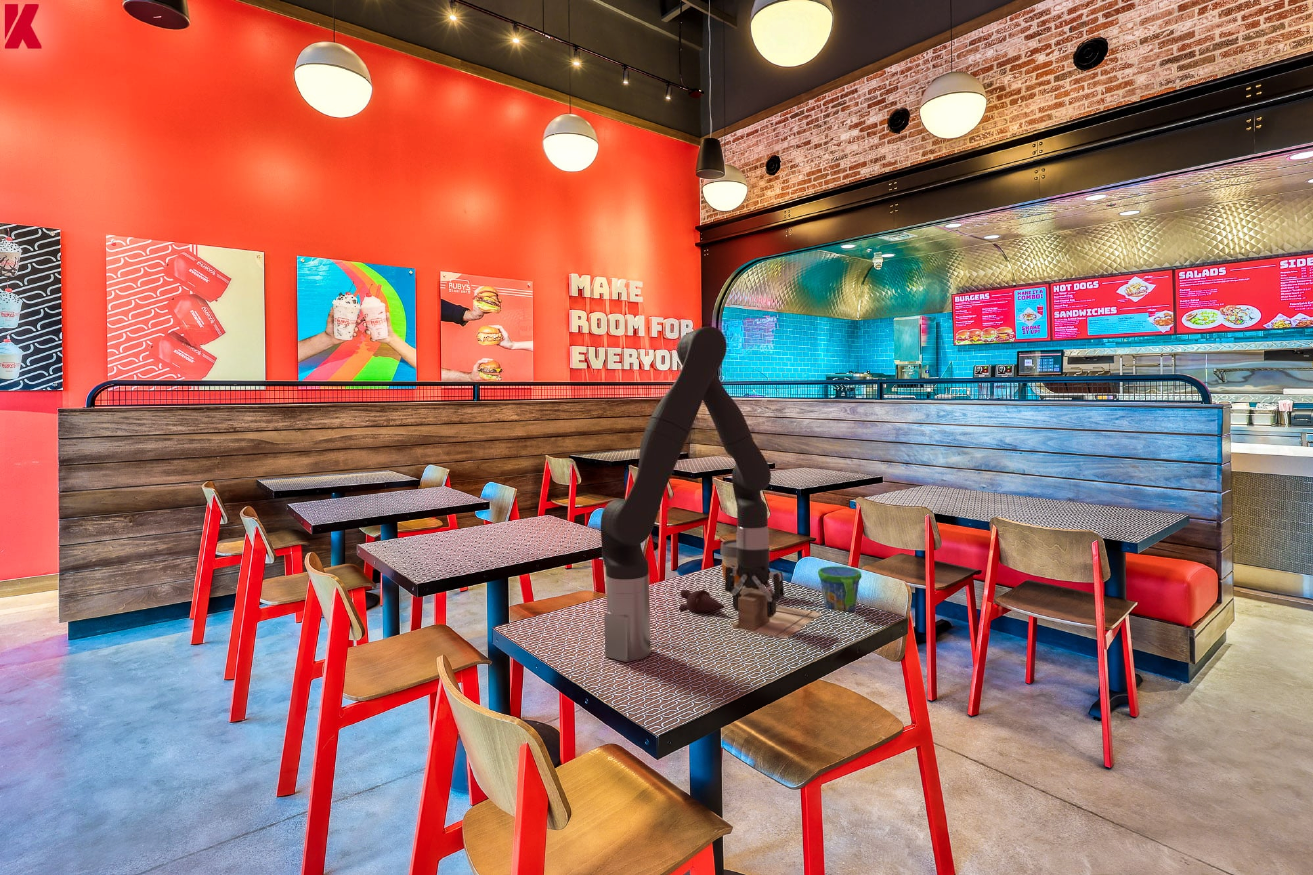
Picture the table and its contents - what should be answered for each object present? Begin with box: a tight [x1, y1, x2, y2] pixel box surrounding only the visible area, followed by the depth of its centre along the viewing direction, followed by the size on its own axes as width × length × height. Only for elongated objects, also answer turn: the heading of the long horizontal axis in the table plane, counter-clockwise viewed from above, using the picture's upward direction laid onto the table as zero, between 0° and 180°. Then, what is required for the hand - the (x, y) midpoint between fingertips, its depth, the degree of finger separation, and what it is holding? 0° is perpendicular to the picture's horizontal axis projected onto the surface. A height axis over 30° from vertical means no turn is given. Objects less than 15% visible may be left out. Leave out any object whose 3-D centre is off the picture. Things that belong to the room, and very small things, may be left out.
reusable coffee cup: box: [720, 538, 760, 596], centre depth 177 cm, size 13×13×15 cm
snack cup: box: [817, 565, 862, 614], centre depth 163 cm, size 16×10×10 cm
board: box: [730, 604, 823, 640], centre depth 152 cm, size 21×14×2 cm, turn 143°
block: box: [737, 590, 770, 631], centre depth 149 cm, size 9×4×7 cm, turn 143°
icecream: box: [678, 589, 726, 615], centre depth 161 cm, size 7×7×15 cm
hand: (754, 613), depth 149 cm, fingers open, 8 cm apart
